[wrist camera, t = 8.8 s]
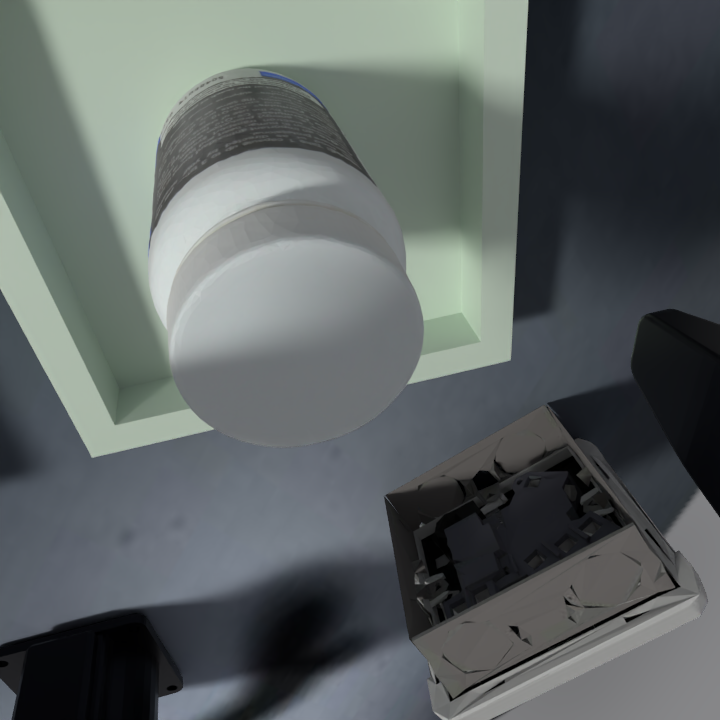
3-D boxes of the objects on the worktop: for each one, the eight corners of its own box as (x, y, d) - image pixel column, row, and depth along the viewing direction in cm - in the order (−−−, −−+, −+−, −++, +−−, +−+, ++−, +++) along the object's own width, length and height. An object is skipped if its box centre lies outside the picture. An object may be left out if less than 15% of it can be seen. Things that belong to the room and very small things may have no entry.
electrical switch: (405, 544, 29) (471, 758, 21) (346, 479, 26) (396, 697, 18) (589, 442, 27) (732, 631, 20) (547, 362, 25) (694, 544, 17)
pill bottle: (113, 152, 15) (63, 355, 9) (262, 19, 14) (331, 135, 8) (245, 279, 18) (281, 504, 12) (377, 176, 17) (499, 357, 11)
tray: (481, 317, 22) (510, 360, 20) (101, 403, 20) (92, 457, 18) (487, -170, 14) (537, -179, 12) (-139, -83, 12) (-199, -78, 10)
